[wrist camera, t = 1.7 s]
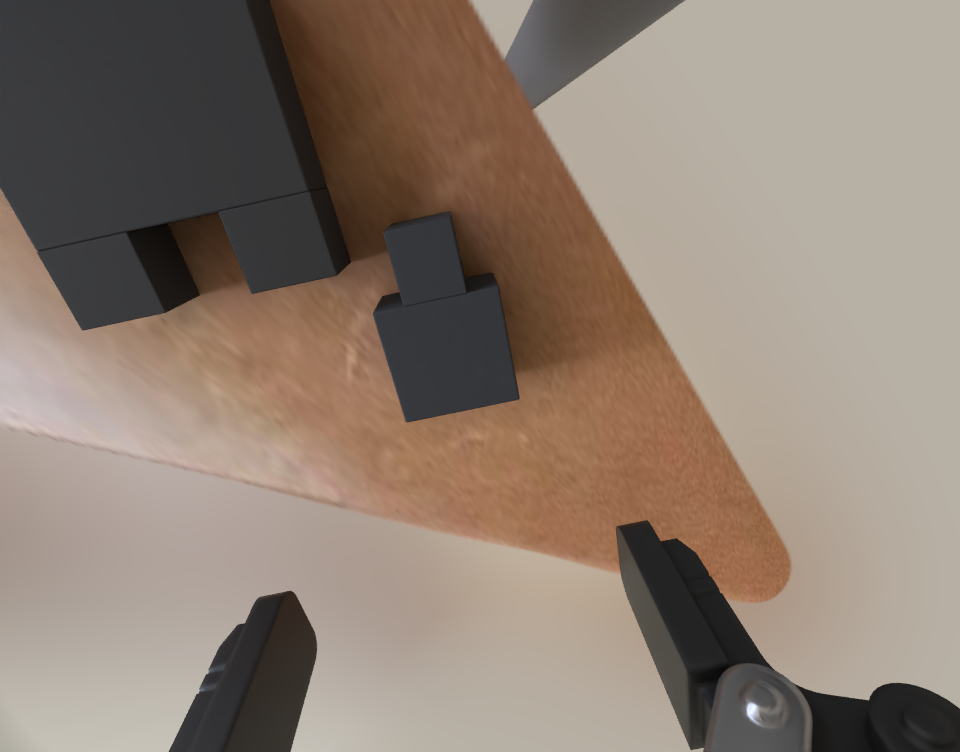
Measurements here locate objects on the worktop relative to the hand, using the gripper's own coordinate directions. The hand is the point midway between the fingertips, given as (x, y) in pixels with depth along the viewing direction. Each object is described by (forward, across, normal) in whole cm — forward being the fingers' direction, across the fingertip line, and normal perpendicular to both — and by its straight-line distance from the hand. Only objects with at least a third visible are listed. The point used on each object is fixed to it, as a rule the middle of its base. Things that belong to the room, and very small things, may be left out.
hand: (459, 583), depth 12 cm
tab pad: (+16, 0, -3) cm, 16 cm away
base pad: (+16, +10, -12) cm, 22 cm away
